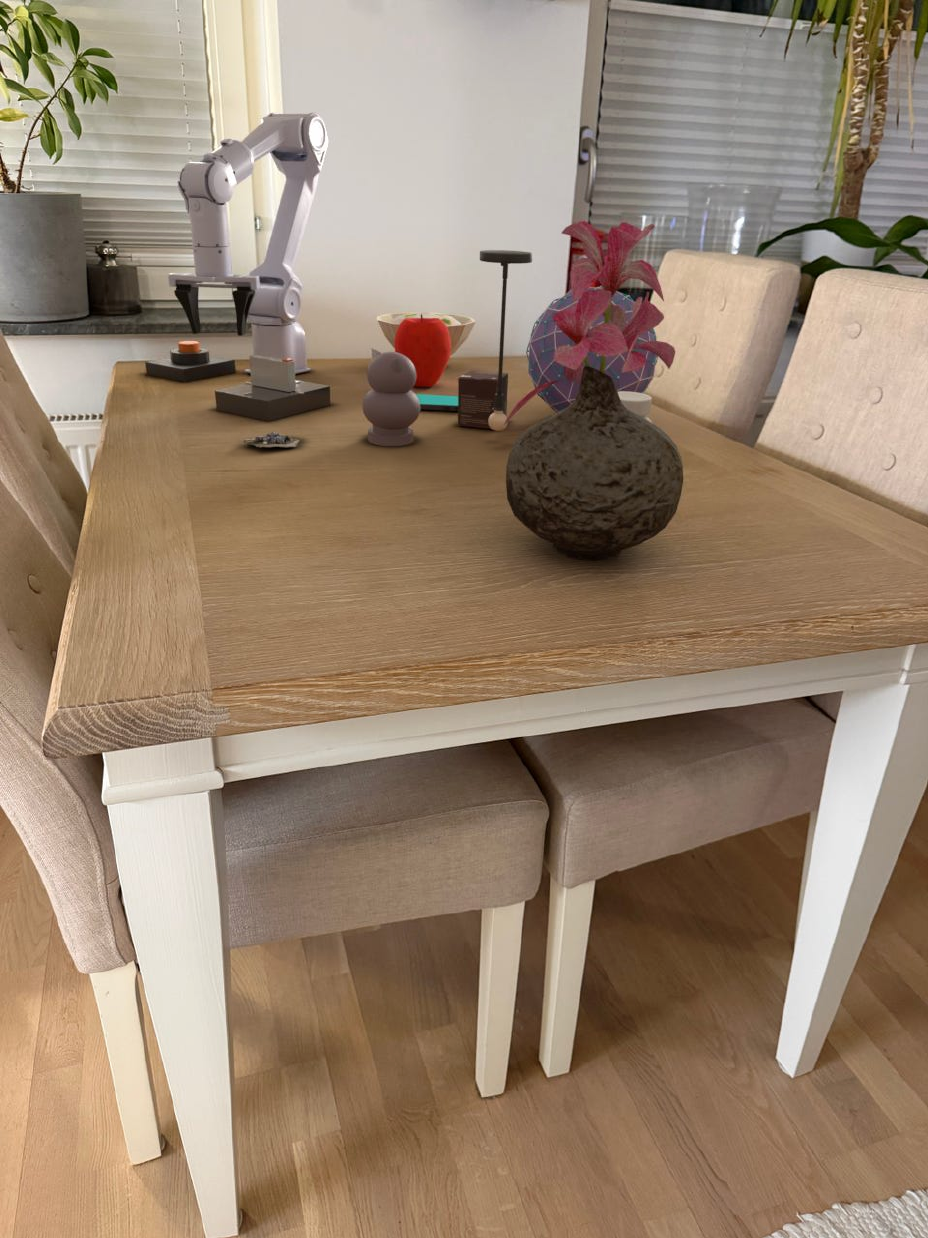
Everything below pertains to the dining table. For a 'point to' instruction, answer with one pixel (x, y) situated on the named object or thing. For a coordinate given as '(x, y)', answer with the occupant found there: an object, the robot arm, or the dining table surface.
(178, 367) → the control block
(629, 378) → the decorative sphere
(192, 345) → the button
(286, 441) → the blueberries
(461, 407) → the box
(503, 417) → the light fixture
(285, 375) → the upright gray tile
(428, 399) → the smartphone
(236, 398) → the tile base
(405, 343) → the apple
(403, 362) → the cat figurine
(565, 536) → the vase
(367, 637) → the dining table surface
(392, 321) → the bowl
